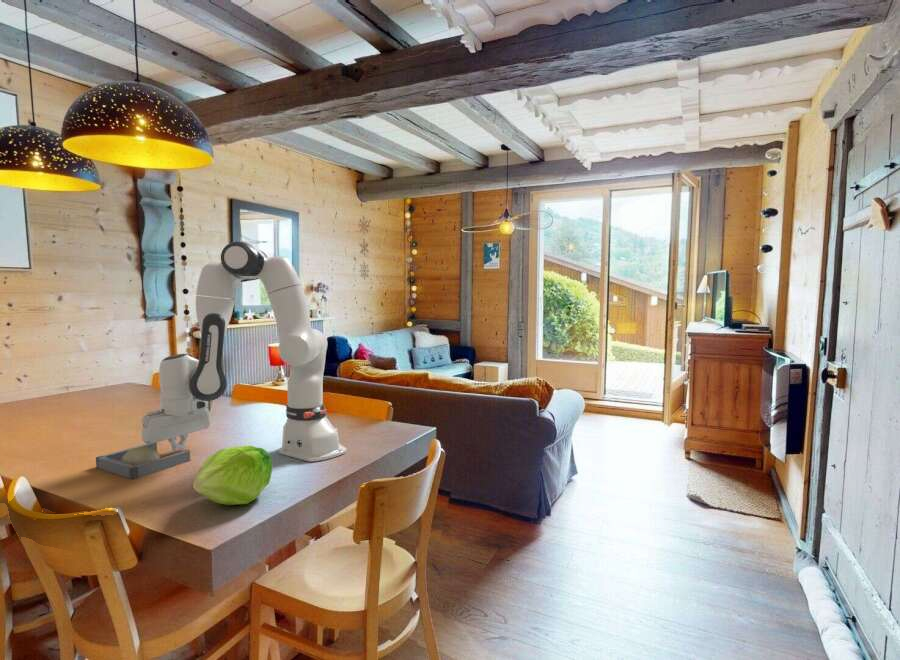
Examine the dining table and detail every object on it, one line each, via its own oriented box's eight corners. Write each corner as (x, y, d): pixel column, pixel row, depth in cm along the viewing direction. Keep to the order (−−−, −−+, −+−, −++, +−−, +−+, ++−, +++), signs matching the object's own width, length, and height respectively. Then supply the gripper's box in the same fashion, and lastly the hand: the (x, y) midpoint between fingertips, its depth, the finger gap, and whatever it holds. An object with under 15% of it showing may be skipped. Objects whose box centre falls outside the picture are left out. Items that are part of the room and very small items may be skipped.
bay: (154, 450, 150) (153, 441, 150) (190, 460, 142) (189, 450, 142) (96, 467, 136) (95, 457, 136) (132, 479, 128) (132, 468, 127)
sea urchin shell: (153, 450, 146) (158, 435, 141) (159, 473, 142) (164, 459, 137) (116, 457, 139) (120, 442, 134) (121, 481, 135) (125, 467, 131)
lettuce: (175, 516, 108) (173, 455, 110) (249, 497, 125) (246, 444, 128) (217, 514, 101) (214, 449, 103) (289, 494, 119) (285, 439, 121)
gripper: (149, 415, 136) (151, 461, 137) (212, 400, 154) (213, 442, 155) (135, 412, 139) (138, 458, 140) (199, 398, 157) (201, 439, 158)
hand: (178, 449), depth 148 cm, fingers closed
